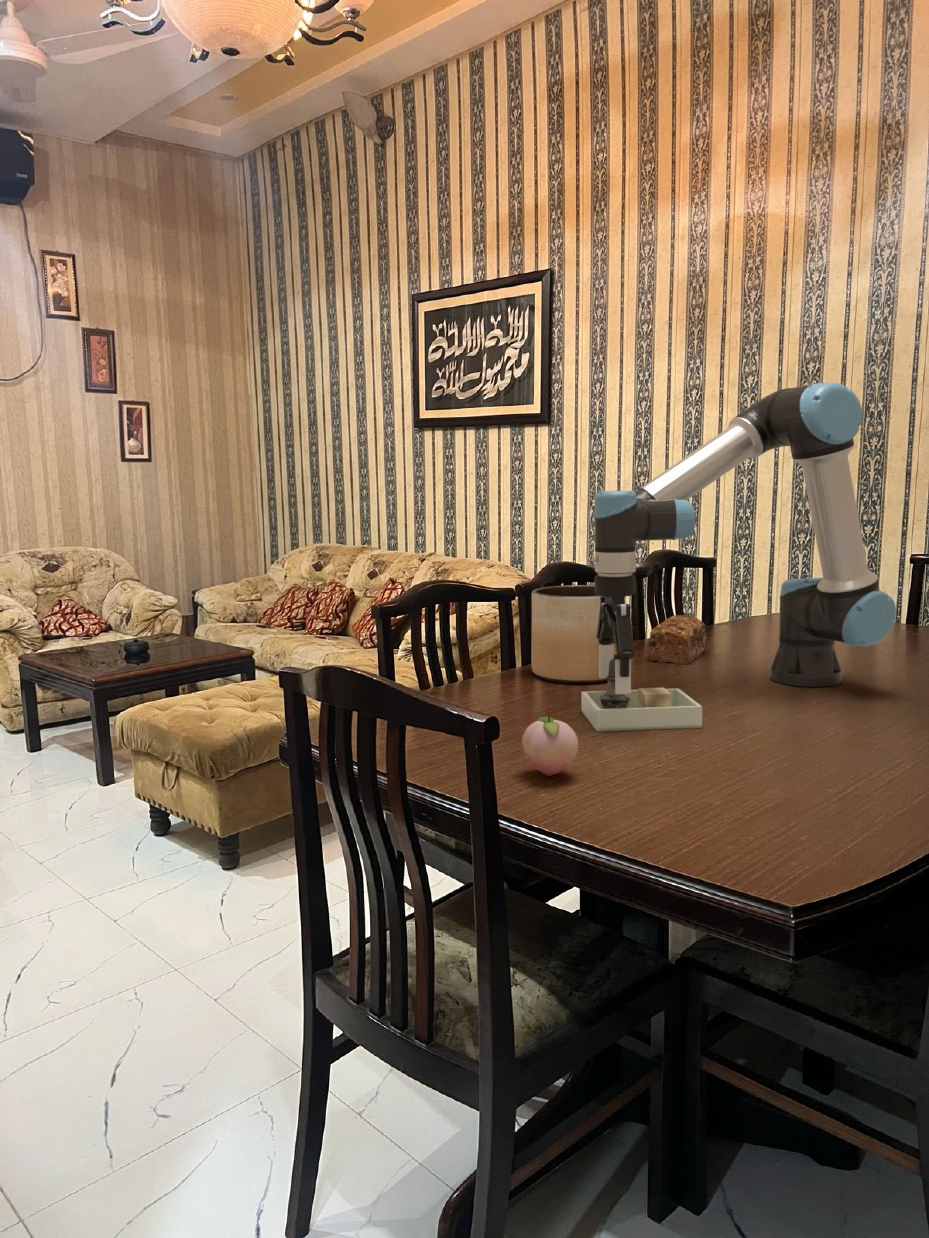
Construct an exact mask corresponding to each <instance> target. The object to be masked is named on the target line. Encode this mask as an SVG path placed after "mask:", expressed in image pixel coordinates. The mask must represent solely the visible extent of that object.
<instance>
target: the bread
mask: <svg viewBox="0 0 929 1238" xmlns="http://www.w3.org/2000/svg"><path fill="white" fill-rule="evenodd" d="M706 627H707V626H706V625H705V623H704V621H702V620H700V619H699V618H697V617H693V616H692V615H686V614H684V615H683V614H679V615H672V616H670V617H669V618H667V619H665V620H664V621H662V622H661V623H659V624H658V625H656V626H655V627H653V628H652V629H651V630H650V633H649V652H650V660H651V661H653V662H658V663H660V664H662V663H663V664H664V663H672V664H676V665H678V664H680V665H690V663H692V662H694V661H695V660H696V659H697V658H698V657H699V656H701V655H702V654H703V652H704V651H705V646H706V640H707V628H706Z"/></svg>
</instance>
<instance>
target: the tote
mask: <svg viewBox="0 0 929 1238" xmlns="http://www.w3.org/2000/svg"><path fill="white" fill-rule="evenodd" d="M665 689H666V690H667V691H669V692H670V693H671V707H648V708H638V689H631V694H624V695H625V696H626V697H629V698H630V700H629V703H628V706H627V708H620V709H604V708H603V706H602V704H601V699H600V698H599V697H600V696H602V695H604V694H605V693H606V691H607V690H597V691H596V690H594V691H590V690H589V691H581V703H580V704H581V710H580V711H581V713H582V714H583V715H584V717H585V718H586V719H587V721H588V722H589V723H590V725H591V726H592V727H593V728H594V730H595V731H596V732H597V733H599V732H600V733H601V732H622V731H623V732H625V731H649V730H676V729H677V730H678V729H682V730H683V729H701V728H702V729H703V706H702V705H701V704H700V703H698V702H697V701H695V699H693V698H692V697H691V696H689V695H688V694H686V693H685V692H684V691H683V690H681V688H678V687H677V688H665Z"/></svg>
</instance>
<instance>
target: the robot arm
mask: <svg viewBox="0 0 929 1238" xmlns="http://www.w3.org/2000/svg"><path fill="white" fill-rule="evenodd" d="M862 409H863V408H862V405H861V402H860V399H859V398H858V396H857V395H856V393H855V392H854V391H853V390H852V389H850V388H848V387H847V386H846V385H844V384H842V383H838V382H817V383H811V384H806V385H800V386H795V387H787V388H782V389H778V390H776V391H773V392H772V393H770V394H768V395H766V396H764V397H762V398H761V399H759V400H758V401H757V402H755V403H753V404H752V405H751V406H749V407H748V408H746V409H745V410H743V411H741V413H739V414H738V415H736V416H735V417H733V418H732V419H731V420H730V421H729V422H728V426H727V428H726V429H724V430H722V431H720V433H718V434H717V435H716V436H714V437H713V438H710V440H708V441H707V442H705V443H703V445H702V444H701V446H699V447H698V448H696V449H695V450H694V451H692V452H691V453H689V454H687V455H686V456H685V457H683V458H681V460H679V461H677V462H676V463H675V464H672V465H671V466H670V467H669V468H667V469H665V470H664V471H663V472H662V473H660V474H658V475H657V476H655V477H654V478H653V479H651V480H649V481H648V482H646V483H645V484H644V485H642V486H641V487H639V488H638V489H636V490H635V491H634V490H602V491H599V492H597V493H596V496H595V502H594V513H593V518H594V556H592V557H591V562H593V563H594V571H595V573H597V574H596V575H595V576H594V586H595V594H596V595H598V596H601V597H600V612H599V621H598V629H597V635H596V637H597V639H599V640H598V642H599V644H601V645H599V677H600V678H606V677H607V676H608V674H609V662H610V660H612V659H614V660H615V694H631V690H632V659H633V658H635V647H634V638H633V636H634V635H633V627H632V619H631V618H632V617H631V607H632V606H631V605H630V603H626V604H625V600H624V598H625V597H626V598H627V597H632V596H633V595H635V594H636V576H635V575H634V573H635V572H636V567H637V566H636V565H637V564H636V563H637V562H636V560H637V559H636V557H637V555H636V554H637V553H636V546H637V545H636V542H642V541H668V540H669V541H670V540H671V541H676V540H681V539H688V538H689V537H690V536H691V535H692V534H693V532H694V529H695V526H696V518H697V517H696V511H695V508H694V506H693V505H692V503H691V502H690V501H688V500H689V499H691V498H692V497H694V496H695V495H696V494H698V493H699V492H701V491H702V490H703V489H705V488H706V487H707V486H709V485H711V484H712V483H714V482H715V481H717V480H718V479H720V478H721V477H722V476H724V475H725V474H727V473H728V472H730V471H731V470H733V469H734V468H736V467H737V466H738V465H740V464H741V463H743V462H744V461H746V460H748V459H749V458H750V459H757V458H758V457H760V456H761V455H763V454H765V453H767V452H768V451H771V450H774V449H778V448H782V447H789V449H790V454H791V459H792V461H794V462H796V463H797V464H799V465H800V466H801V468H802V471H803V473H802V474H803V478H804V484H805V488H806V494H807V499H808V504H809V510H810V514H811V520H812V524H813V531H814V536H815V540H816V541H815V542H816V545H817V552H818V557H819V562H820V567H821V573H822V577H811V578H809V577H808V578H795V579H786V580H785V581H783V582H782V584H781V585H780V586H781V587H780V589H781V590H780V595H779V622H778V623H779V630H778V631H779V632H778V646H777V649H776V651H775V654H774V656H773V659H772V662H771V665H770V667H769V679H770V680H771V681H773V682H776V683H778V684H779V683H780V684H783V685H789V686H795V687H809V688H810V687H812V688H813V687H814V688H816V687H821V688H823V687H831V686H837V685H840V683H842V673H843V672H842V668H841V665H840V662H839V658H838V654H837V653H836V649H835V642H839V643H844V644H846V645H848V646H853V647H857V646H859V647H863V648H864V647H868V648H869V647H871V646H876V645H878V644H879V643H881V642H882V641H883V640H885V638H887V636H889V634H890V631H891V629H893V626H894V625H895V621H896V617H897V606H896V602H895V600H894V599H893V597H892V596H890V595H888V593H886V592H885V591H882V590H880V584H879V580H878V575H877V574H876V573H874V572H872V571H871V570H869V569H868V563H867V558H866V553H865V552H866V551H865V548H864V542H863V541H864V540H863V535H862V531H861V530H862V528H861V523H860V518H859V513H858V507H857V506H858V505H857V502H856V496H855V495H856V494H855V489H854V485H853V479H852V471H851V468H850V467H851V466H850V461H849V454H850V453H851V452H852V450H853V448H855V442H854V437H855V436H856V435H857V434H858V433H859V431H860V426H861V425H862V424H863V410H862ZM613 636H614V638H613ZM614 643H615V647H616V653H617V655H614V645H613V644H614Z"/></svg>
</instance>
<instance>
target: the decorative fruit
mask: <svg viewBox="0 0 929 1238" xmlns="http://www.w3.org/2000/svg"><path fill="white" fill-rule="evenodd" d="M521 742H522V748H523V751H524V753H525V756H526V758H527V759H528V761H529V762H530V764H531V765H532V766H533V767H534V768H536V769H537V770H538V771H539V772H540V773H542V774H544V775H545V776H547V777H550V776H553V775H557V774H558V773H561V772H562V771H564V770H566V769H567V768H568V767H569V766H570V765H571V764H572V763H573V762H574V760H575V758H576V757H577V753H578V750H579V739H578V736H577V734H576V732H575V730H573V728H572V727H571V726H570V725H569V724H568V723H566V722H564V721H561V720H558V719H554V718H553V717H551V713H548V714H547V716H545V717H544V716H541V717H539V718H537V721H534V722H532V723H531V724H530V725H528V726H527V728H526V729H525V731H524V732H523V735H522V739H521Z"/></svg>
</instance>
